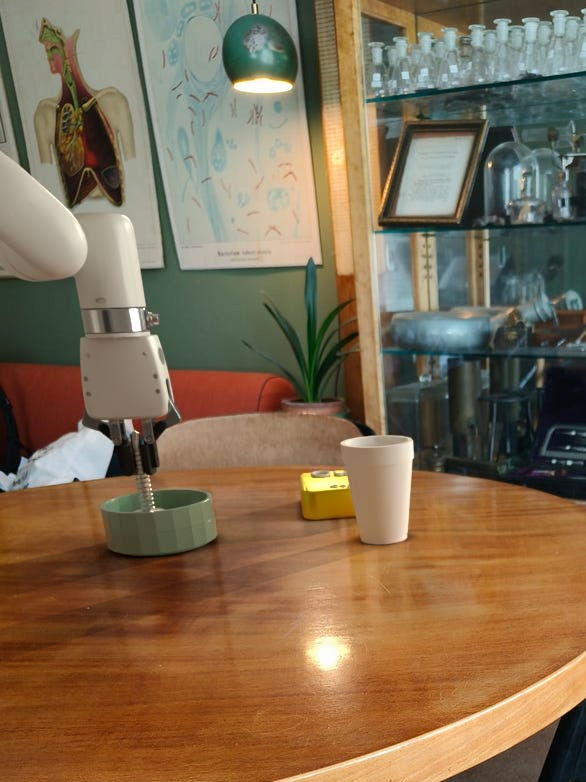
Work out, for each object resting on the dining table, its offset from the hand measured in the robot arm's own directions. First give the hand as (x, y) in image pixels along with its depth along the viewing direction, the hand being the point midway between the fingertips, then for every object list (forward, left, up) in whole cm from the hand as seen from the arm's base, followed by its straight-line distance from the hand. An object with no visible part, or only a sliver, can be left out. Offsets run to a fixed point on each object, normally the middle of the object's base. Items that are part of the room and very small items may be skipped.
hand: (141, 472), depth 115 cm
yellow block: (+26, +18, -10) cm, 33 cm away
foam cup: (+31, -2, -10) cm, 33 cm away
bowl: (+1, +2, -10) cm, 10 cm away
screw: (0, 0, -8) cm, 8 cm away
